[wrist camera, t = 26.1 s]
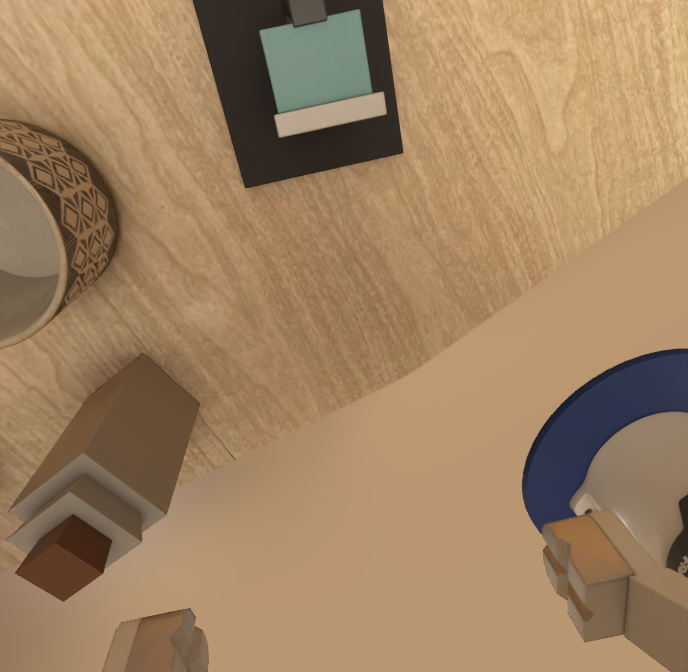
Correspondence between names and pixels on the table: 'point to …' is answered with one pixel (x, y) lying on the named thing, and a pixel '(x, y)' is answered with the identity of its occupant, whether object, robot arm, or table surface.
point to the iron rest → (259, 102)
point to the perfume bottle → (104, 479)
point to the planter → (47, 228)
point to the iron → (319, 69)
